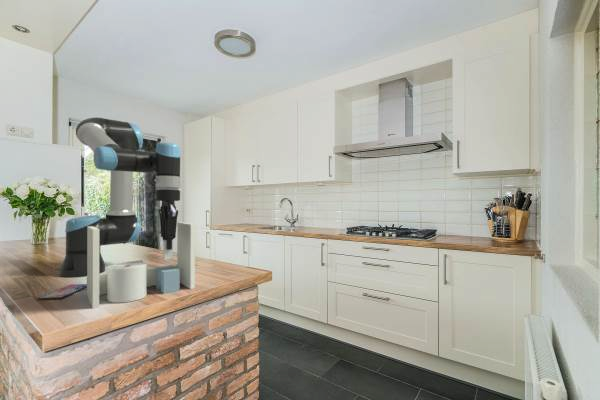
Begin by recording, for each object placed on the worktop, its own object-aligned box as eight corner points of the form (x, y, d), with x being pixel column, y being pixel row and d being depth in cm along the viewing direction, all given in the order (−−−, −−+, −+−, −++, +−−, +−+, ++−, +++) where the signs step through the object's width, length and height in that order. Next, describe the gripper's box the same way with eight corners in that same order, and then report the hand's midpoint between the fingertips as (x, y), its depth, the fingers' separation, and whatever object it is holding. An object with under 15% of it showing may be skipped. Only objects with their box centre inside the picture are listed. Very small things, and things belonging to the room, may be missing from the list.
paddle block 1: (156, 288, 103) (156, 267, 103) (171, 285, 106) (171, 265, 106) (158, 290, 100) (158, 269, 100) (173, 287, 104) (174, 267, 104)
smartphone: (35, 298, 90) (70, 284, 105) (35, 301, 90) (70, 287, 105) (61, 297, 90) (93, 283, 105) (61, 300, 90) (93, 286, 105)
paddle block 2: (160, 291, 98) (160, 270, 98) (176, 288, 102) (176, 268, 102) (163, 294, 96) (163, 272, 96) (179, 290, 99) (179, 270, 99)
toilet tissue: (106, 305, 85) (106, 270, 85) (107, 294, 96) (107, 263, 96) (148, 299, 91) (148, 266, 91) (144, 289, 101) (144, 259, 101)
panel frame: (86, 295, 94) (86, 226, 94) (180, 279, 113) (180, 221, 113) (92, 308, 83) (93, 229, 83) (194, 288, 102) (195, 224, 102)
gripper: (150, 189, 103) (150, 257, 103) (162, 188, 93) (162, 263, 93) (173, 189, 108) (172, 254, 108) (186, 189, 98) (186, 260, 98)
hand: (167, 258), depth 101 cm, fingers closed
